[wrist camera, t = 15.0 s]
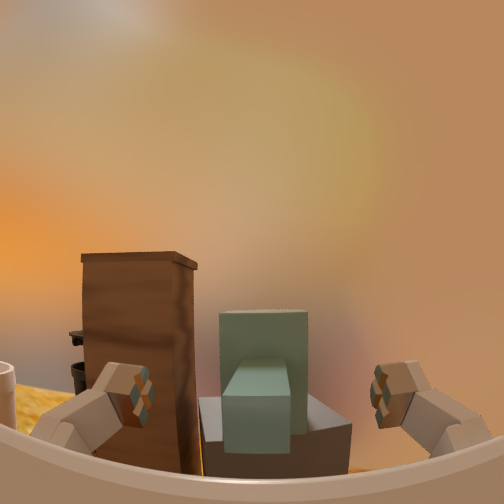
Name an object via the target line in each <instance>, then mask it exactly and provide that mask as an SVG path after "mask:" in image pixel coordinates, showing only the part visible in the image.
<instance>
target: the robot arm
mask: <svg viewBox="0 0 504 504" xmlns="http://www.w3.org/2000/svg"><path fill="white" fill-rule="evenodd" d="M374 374H375V377H376V379H375V380H374V381H373V382H372V384H371V389H370V398H371V403H372V406H373V407H374V408H375V409H377V411H376V414H375V416H376V420H377V423H378V427H379V429H384V428H391V427H398V426H401V428H402V429H403V430H404V431H406V432H407V433H408V434H409V435H410V436H411V437H412V438H413V439H414V440H415V441H417V442H418V443H419V444H420V445H421V446H422V447H423V448H424V449H425V450H426V451H428V452H429V453H430V454H431V455H430V456H429V458H428V459H427V460H423V461H419V462H415V463H411V464H406V465H401V466H396V467H391V468H386V469H380V470H374V471H368V472H361V473H354V474H345V475H336V476H326V477H313V478H296V479H237V478H219V477H207V476H196V475H187V474H179V473H172V472H165V471H159V470H153V469H147V468H142V467H137V466H132V465H127V464H122V463H118V462H113V461H109V460H105V459H101V458H97V457H94V456H93V454H92V452H93V451H94V450H96V449H97V448H98V447H99V446H100V445H102V444H103V443H104V442H105V441H106V440H108V439H109V438H110V437H111V436H112V435H114V434H115V433H116V432H117V431H118V430H119V429H121V428H122V427H123V426H130V427H137V428H144V426H145V423H146V420H147V418H148V413H147V410H148V409H149V408H150V407H152V404H153V401H154V387H153V383H152V382H151V381H150V380H149V379H148V377H149V371H148V368H147V367H145V366H139V365H131V364H124V363H115V362H109V363H107V364H106V366H105V367H104V369H103V371H102V372H101V374H100V376H99V377H98V379H97V381H96V382H95V384H94V386H93V387H92V389H87V390H85V391H84V392H82V393H80V394H78V395H77V396H75V397H73V398H71V399H69V400H68V401H66V402H64V403H62V404H61V405H59V406H57V407H55V408H53V409H52V410H50V411H48V412H46V413H44V414H43V415H42V416H41V418H40V419H39V421H38V423H37V424H36V426H35V427H34V429H33V431H32V432H31V434H30V435H27V434H24V433H22V432H19V431H17V430H14V429H12V428H10V427H7V426H5V425H3V424H1V423H0V504H504V435H502V436H499V437H497V438H494V439H493V437H492V435H491V433H490V431H489V429H488V427H487V426H486V424H485V422H484V420H483V418H482V416H481V415H479V414H477V413H476V412H474V411H472V410H471V409H469V408H467V407H466V406H464V405H462V404H460V403H459V402H457V401H456V400H454V399H452V398H450V397H449V396H447V395H446V394H444V393H442V392H440V391H439V390H437V389H432V388H431V386H430V384H429V382H428V380H427V378H426V377H425V375H424V372H423V371H422V369H421V367H420V365H419V363H418V361H416V360H410V361H404V362H397V363H390V364H381V365H377V366H376V369H375V372H374ZM122 425H123V426H122Z"/></svg>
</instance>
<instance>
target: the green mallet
mask: <svg viewBox="0 0 504 504" xmlns="http://www.w3.org/2000/svg"><path fill="white" fill-rule="evenodd" d="M219 339H220V379H221V408H222V432H223V434H224V451H225V453H243V454H286V453H290V435H302V434H307V408H308V312H307V311H304V310H301V309H291V310H279V309H273V310H272V309H268V310H245V311H244V310H239V311H238V310H233V311H232V310H231V311H227V312H222V313H219Z"/></svg>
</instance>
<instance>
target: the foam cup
mask: <svg viewBox="0 0 504 504" xmlns="http://www.w3.org/2000/svg"><path fill="white" fill-rule="evenodd" d="M15 389H16V380H15V372H14V366H12V365H10V364H9V363H5V362H1V361H0V423H1V424H3V425H5V426H7V427H10V428H12V429H14V430H17V423H16V407H15Z"/></svg>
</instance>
